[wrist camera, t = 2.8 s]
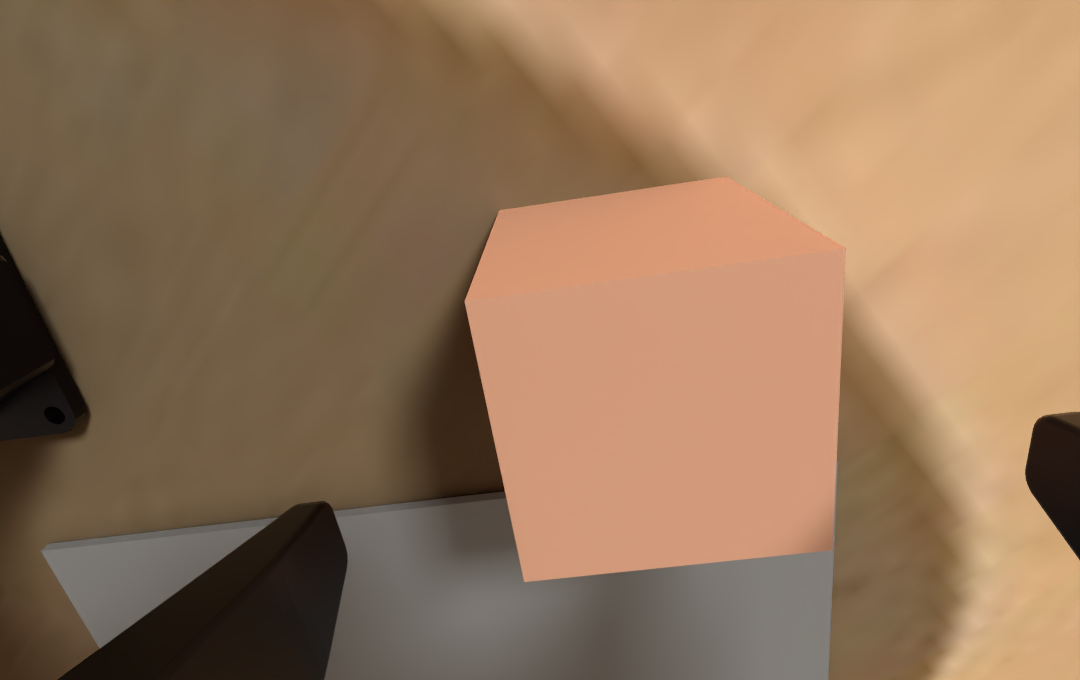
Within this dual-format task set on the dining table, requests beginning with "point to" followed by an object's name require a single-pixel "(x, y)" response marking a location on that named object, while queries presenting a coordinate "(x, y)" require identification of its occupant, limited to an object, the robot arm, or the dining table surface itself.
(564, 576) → the block
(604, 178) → the dining table surface
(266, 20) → the dining table surface
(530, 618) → the mat
